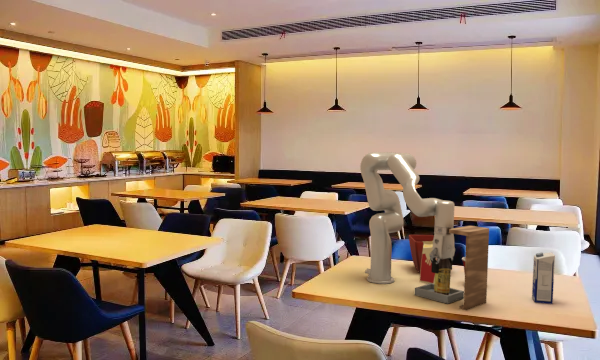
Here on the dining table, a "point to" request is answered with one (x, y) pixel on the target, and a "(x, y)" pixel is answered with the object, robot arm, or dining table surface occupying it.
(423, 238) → the plant pot
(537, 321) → the dining table surface
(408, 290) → the dining table surface
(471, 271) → the wooden c-shaped stand
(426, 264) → the milk carton
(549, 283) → the milk carton
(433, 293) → the tray
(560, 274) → the dining table surface
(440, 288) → the sauce bottle
